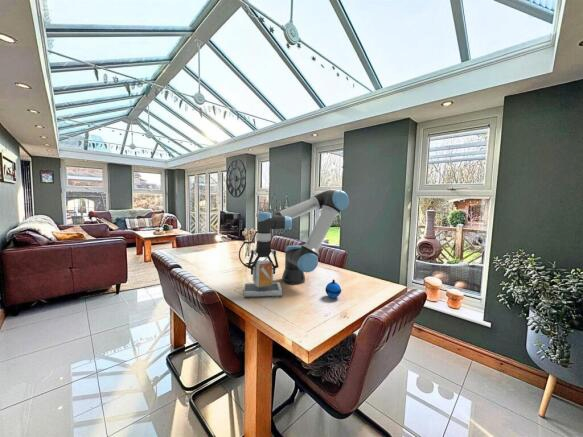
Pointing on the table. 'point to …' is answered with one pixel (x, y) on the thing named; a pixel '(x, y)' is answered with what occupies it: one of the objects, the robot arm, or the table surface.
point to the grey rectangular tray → (262, 291)
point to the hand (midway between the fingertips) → (262, 280)
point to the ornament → (333, 289)
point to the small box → (263, 273)
